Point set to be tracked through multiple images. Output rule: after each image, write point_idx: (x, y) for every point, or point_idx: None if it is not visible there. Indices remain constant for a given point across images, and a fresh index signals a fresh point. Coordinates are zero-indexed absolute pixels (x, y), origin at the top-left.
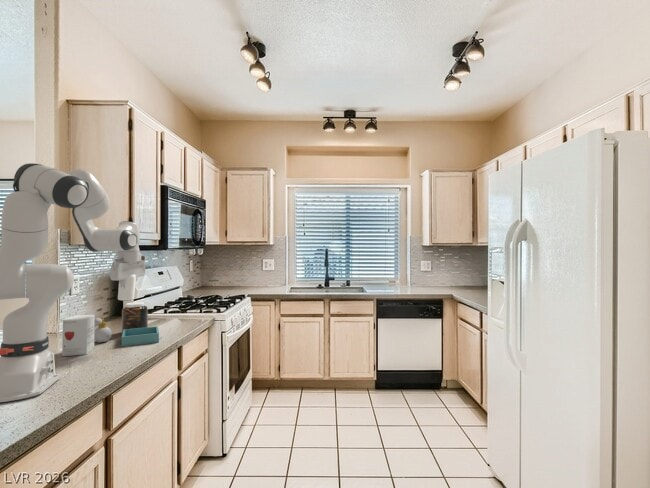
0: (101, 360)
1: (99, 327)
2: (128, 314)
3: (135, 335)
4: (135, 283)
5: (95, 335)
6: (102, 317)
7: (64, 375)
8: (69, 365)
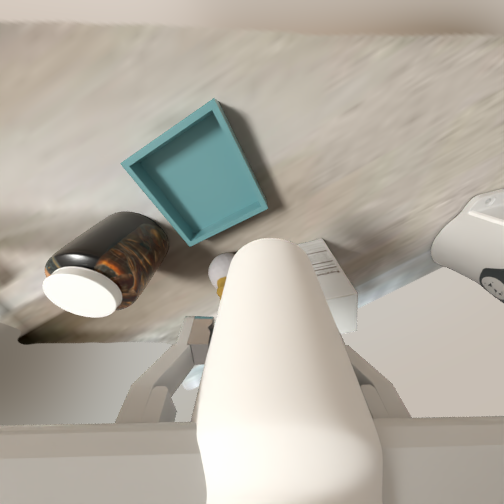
0: (377, 181)
1: None
2: (143, 274)
3: (250, 176)
4: (178, 341)
5: None
6: None
7: (459, 198)
8: (390, 227)
